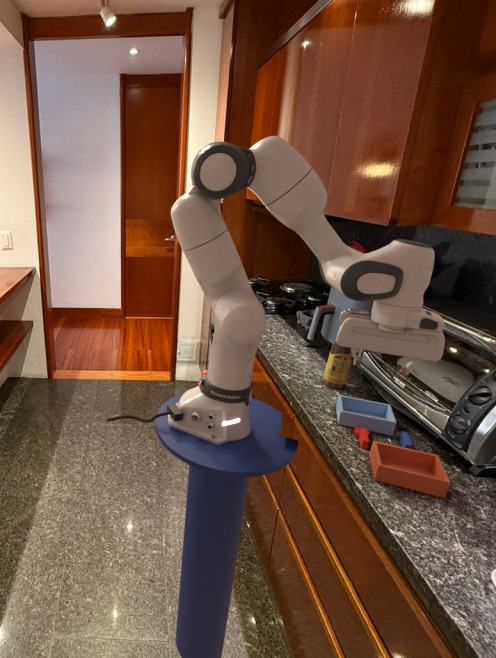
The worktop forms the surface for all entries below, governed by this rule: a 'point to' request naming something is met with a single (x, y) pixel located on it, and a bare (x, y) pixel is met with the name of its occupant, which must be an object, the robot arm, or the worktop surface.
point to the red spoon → (362, 436)
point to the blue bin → (365, 415)
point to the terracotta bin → (409, 469)
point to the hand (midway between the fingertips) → (379, 369)
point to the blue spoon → (405, 440)
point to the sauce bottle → (337, 366)
